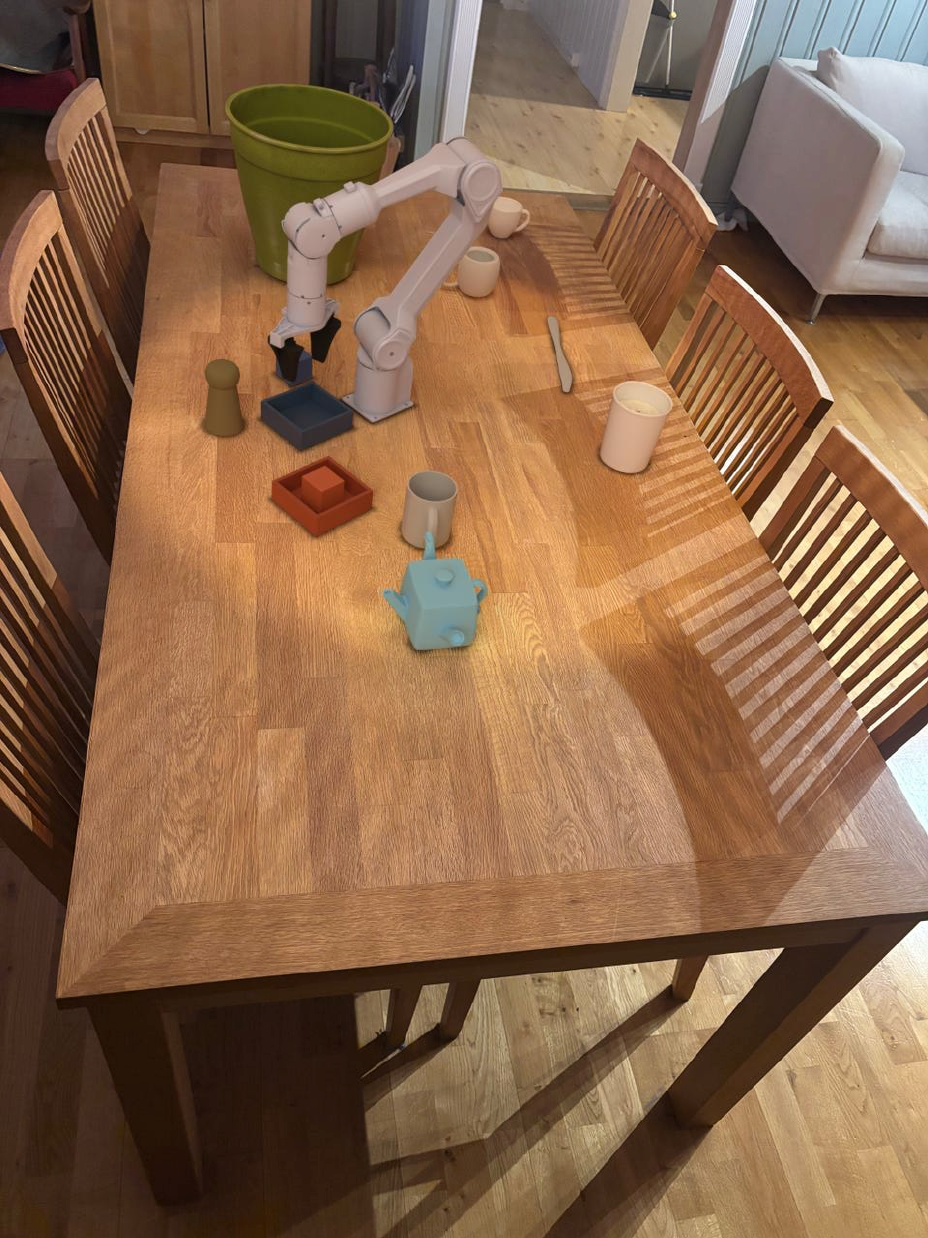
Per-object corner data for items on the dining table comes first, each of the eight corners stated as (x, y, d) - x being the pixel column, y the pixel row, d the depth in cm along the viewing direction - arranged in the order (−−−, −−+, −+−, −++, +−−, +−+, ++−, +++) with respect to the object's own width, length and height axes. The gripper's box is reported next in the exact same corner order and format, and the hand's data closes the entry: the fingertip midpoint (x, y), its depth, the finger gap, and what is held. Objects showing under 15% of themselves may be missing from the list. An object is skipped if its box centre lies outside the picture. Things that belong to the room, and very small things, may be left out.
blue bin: (312, 398, 162) (313, 380, 160) (352, 428, 158) (353, 410, 156) (260, 419, 156) (260, 400, 154) (300, 451, 152) (301, 432, 150)
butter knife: (561, 316, 194) (547, 314, 193) (575, 393, 175) (559, 390, 175) (560, 319, 194) (546, 316, 194) (574, 395, 176) (558, 393, 175)
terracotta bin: (327, 473, 149) (328, 455, 147) (371, 508, 145) (373, 490, 142) (271, 499, 143) (271, 480, 140) (316, 536, 139) (317, 518, 136)
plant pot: (211, 235, 197) (206, 82, 177) (349, 228, 209) (359, 84, 188) (254, 309, 180) (253, 149, 159) (402, 296, 191) (418, 146, 171)
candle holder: (658, 454, 166) (680, 394, 158) (642, 483, 159) (663, 422, 151) (605, 434, 168) (624, 373, 160) (587, 462, 161) (605, 400, 153)
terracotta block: (323, 488, 146) (325, 465, 143) (343, 504, 144) (344, 480, 141) (300, 499, 143) (301, 475, 140) (320, 515, 141) (321, 491, 138)
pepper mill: (235, 439, 152) (234, 378, 144) (198, 430, 152) (194, 369, 144) (249, 419, 156) (248, 358, 148) (213, 410, 156) (210, 349, 148)
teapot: (496, 674, 126) (510, 620, 118) (390, 684, 122) (398, 629, 115) (462, 578, 137) (473, 523, 130) (364, 584, 133) (370, 529, 126)
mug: (489, 281, 201) (495, 244, 196) (499, 302, 196) (506, 265, 190) (433, 279, 198) (438, 242, 192) (441, 300, 192) (447, 263, 187)
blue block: (295, 366, 168) (296, 344, 165) (312, 378, 167) (313, 356, 163) (275, 374, 166) (275, 351, 163) (291, 386, 164) (292, 363, 161)
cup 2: (480, 224, 220) (485, 195, 215) (522, 228, 222) (528, 198, 217) (486, 240, 214) (491, 210, 210) (529, 243, 217) (535, 214, 212)
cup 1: (447, 519, 146) (456, 472, 139) (452, 565, 139) (461, 517, 133) (399, 516, 145) (406, 468, 138) (401, 562, 138) (408, 513, 131)
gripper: (314, 263, 149) (311, 342, 159) (253, 296, 140) (254, 378, 149) (352, 280, 147) (346, 359, 157) (292, 314, 138) (290, 396, 147)
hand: (303, 369), depth 153 cm, fingers open, 7 cm apart
